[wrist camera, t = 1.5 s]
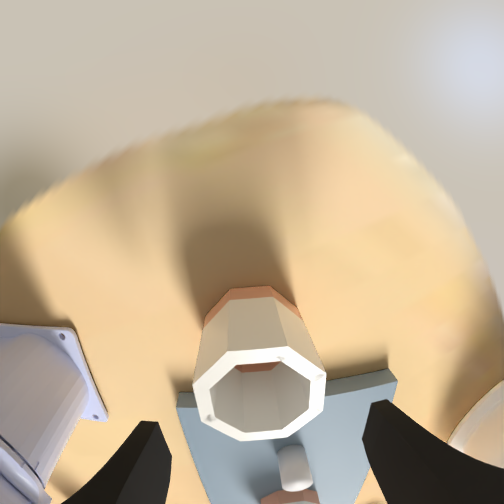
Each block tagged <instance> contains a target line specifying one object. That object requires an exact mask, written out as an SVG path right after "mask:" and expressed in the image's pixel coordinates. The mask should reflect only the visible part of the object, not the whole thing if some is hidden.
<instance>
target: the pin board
mask: <svg viewBox="0 0 504 504" xmlns="http://www.w3.org/2000/svg"><path fill="white" fill-rule="evenodd" d="M397 382H398V381H397V379H396V378H395V376H394V375H393V374H392V372H391V371H390V370H389V369H385V370H380V371H376V372H371V373H366V374H361V375H356V376H351V377H346V378H340V379H335V380H329V381H326V384H325V394H324V404H323V411H322V412H321V413H319V414H318V415H317V416H315V417H314V418H313V419H312V420H310V421H309V422H308V423H306V424H305V425H304V426H302V427H301V428H300V429H298V430H297V431H295V432H294V433H293V434H291V435H290V436H288V437H284V438H275V439H265V440H253V441H238V440H236V439H234V438H232V437H230V436H228V435H226V434H224V433H222V432H220V431H218V430H216V429H214V428H212V427H211V426H209V425H207V424H205V423H203V422H201V419H200V415H199V411H198V407H197V402H196V398H195V394H194V392H179V396H178V401H177V405H176V409H177V413H178V416H179V419H180V422H181V425H182V428H183V431H184V434H185V437H186V440H187V443H188V446H189V449H190V452H191V455H192V457H193V460H194V463H195V465H196V468H197V471H198V473H199V476H200V479H201V481H202V484H203V486H204V489H205V491H206V493H207V496H208V498H209V500H210V503H211V504H261V499H262V498H264V497H266V496H268V495H270V494H272V493H274V492H276V491H279V490H286V491H291V492H294V491H300V490H304V489H308V490H312V491H316V492H317V494H318V498H319V502H320V504H354V503H355V501H356V498H357V496H358V494H359V492H360V490H361V487H362V485H363V483H364V480H365V478H366V476H367V473H368V471H369V468H370V464H369V462H368V458H367V455H366V452H365V449H364V445H363V441H362V436H363V433H364V429H365V425H366V421H367V418H368V414H369V409H370V405H371V403H372V402H376V401H381V400H384V399H387V400H389V401H390V402H391V403H392V401H393V397H394V394H395V390H396V386H397Z"/></svg>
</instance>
